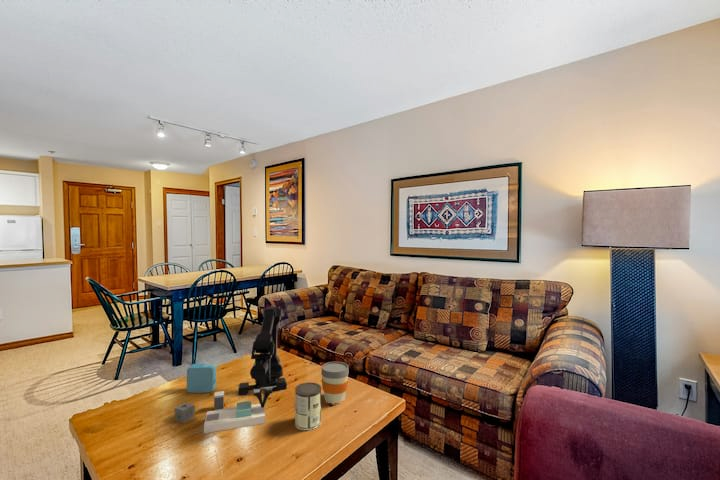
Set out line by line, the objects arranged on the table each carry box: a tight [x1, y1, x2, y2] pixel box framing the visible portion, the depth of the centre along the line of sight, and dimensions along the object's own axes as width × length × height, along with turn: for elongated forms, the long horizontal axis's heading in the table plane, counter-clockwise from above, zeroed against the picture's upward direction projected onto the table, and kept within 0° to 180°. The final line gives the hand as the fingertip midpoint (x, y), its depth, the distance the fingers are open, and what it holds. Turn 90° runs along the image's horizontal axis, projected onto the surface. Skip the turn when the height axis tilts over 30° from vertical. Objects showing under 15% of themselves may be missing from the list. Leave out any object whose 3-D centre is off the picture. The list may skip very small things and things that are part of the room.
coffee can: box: [294, 382, 322, 431], centre depth 130 cm, size 10×10×14 cm
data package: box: [186, 363, 217, 394], centre depth 156 cm, size 12×4×12 cm, turn 93°
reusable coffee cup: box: [321, 361, 350, 403], centre depth 149 cm, size 13×12×15 cm
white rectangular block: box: [213, 390, 225, 411], centre depth 140 cm, size 4×4×6 cm
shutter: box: [236, 400, 252, 418], centre depth 132 cm, size 6×7×2 cm
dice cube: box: [174, 401, 196, 424], centre depth 132 cm, size 5×5×5 cm
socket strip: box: [203, 403, 266, 434], centre depth 131 cm, size 22×10×3 cm, turn 109°
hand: (262, 407), depth 134 cm, fingers closed
